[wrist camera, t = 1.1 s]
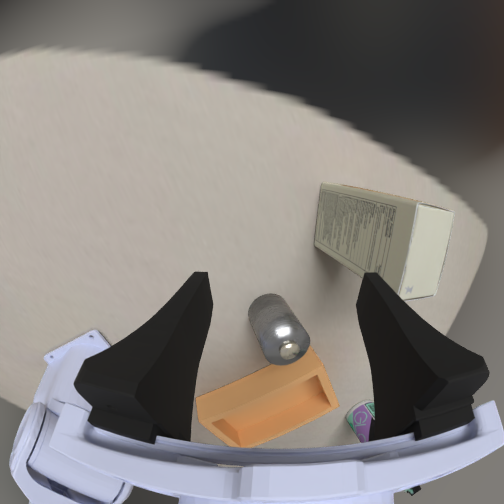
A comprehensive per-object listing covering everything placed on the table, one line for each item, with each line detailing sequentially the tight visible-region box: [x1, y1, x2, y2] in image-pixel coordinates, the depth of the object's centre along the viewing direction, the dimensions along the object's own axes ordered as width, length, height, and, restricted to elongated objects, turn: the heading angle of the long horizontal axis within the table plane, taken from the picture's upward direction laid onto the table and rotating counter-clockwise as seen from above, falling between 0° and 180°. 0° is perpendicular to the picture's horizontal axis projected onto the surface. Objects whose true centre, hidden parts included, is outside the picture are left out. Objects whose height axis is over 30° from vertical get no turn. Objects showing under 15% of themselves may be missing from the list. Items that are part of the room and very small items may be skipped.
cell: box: [248, 294, 310, 366], centre depth 24 cm, size 4×4×7 cm
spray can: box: [346, 400, 421, 496], centre depth 30 cm, size 6×6×20 cm
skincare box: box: [314, 182, 455, 301], centre depth 20 cm, size 6×4×12 cm
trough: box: [196, 346, 340, 448], centre depth 30 cm, size 15×10×4 cm, turn 114°
